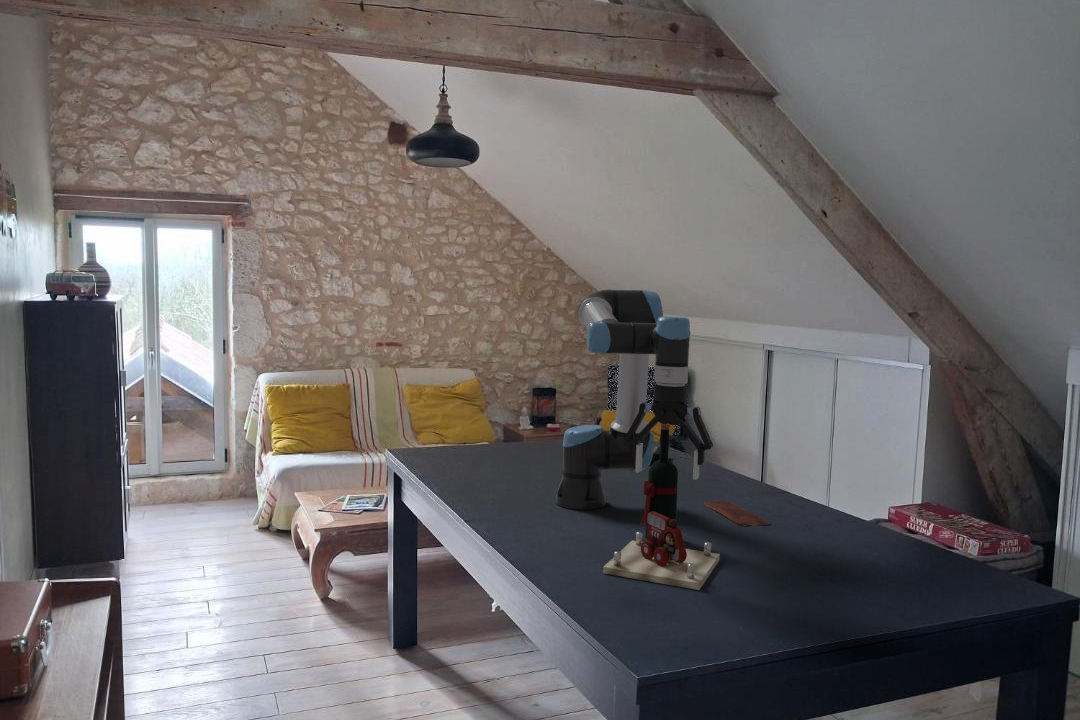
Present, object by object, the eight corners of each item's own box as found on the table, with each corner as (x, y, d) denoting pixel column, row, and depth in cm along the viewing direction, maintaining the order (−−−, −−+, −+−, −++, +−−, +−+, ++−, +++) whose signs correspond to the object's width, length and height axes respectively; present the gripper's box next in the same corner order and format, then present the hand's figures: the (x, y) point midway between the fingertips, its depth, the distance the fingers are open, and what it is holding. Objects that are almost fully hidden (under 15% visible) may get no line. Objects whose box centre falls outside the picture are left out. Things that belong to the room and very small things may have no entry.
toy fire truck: (668, 570, 183) (670, 525, 182) (636, 554, 193) (637, 511, 192) (692, 566, 186) (694, 522, 185) (659, 550, 197) (661, 508, 196)
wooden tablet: (773, 527, 227) (773, 521, 226) (740, 529, 224) (740, 523, 224) (728, 502, 252) (729, 497, 252) (699, 503, 250) (699, 498, 250)
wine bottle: (632, 537, 212) (636, 423, 209) (662, 532, 217) (667, 421, 214) (651, 545, 205) (656, 428, 202) (682, 540, 210) (687, 426, 208)
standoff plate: (603, 573, 184) (603, 553, 184) (631, 546, 204) (632, 528, 204) (699, 590, 175) (700, 569, 175) (719, 560, 196) (720, 541, 195)
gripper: (613, 381, 188) (610, 471, 190) (722, 390, 178) (717, 485, 180) (623, 378, 194) (620, 465, 196) (728, 386, 185) (724, 478, 187)
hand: (666, 475), depth 188 cm, fingers open, 13 cm apart
